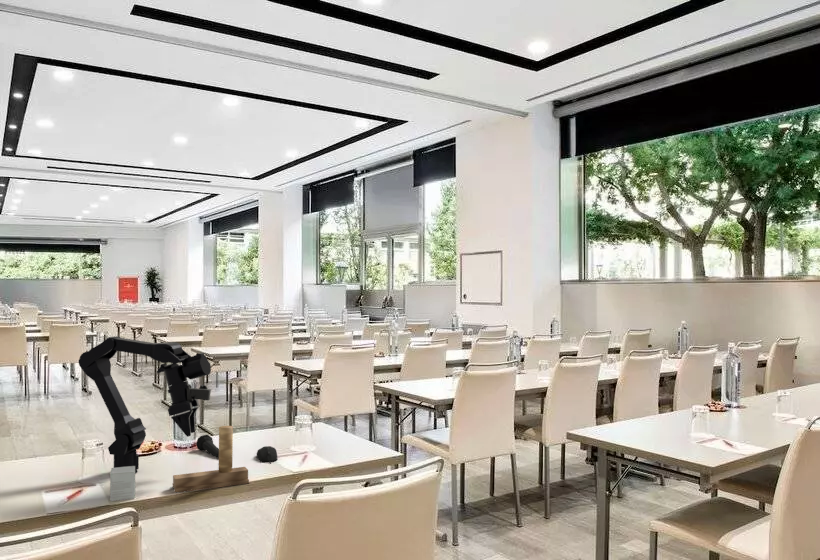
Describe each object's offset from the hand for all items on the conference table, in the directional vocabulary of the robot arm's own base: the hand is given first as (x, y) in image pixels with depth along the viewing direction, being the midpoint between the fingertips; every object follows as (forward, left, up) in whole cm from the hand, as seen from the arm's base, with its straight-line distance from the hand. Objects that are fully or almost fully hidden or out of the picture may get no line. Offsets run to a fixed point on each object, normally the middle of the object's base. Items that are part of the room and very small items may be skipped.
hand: (191, 434), depth 196 cm
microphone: (+10, +23, -13) cm, 28 cm away
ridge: (+4, -12, -12) cm, 18 cm away
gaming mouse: (+25, +9, -13) cm, 30 cm away
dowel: (+8, -12, -9) cm, 17 cm away
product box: (-19, -12, -12) cm, 26 cm away
